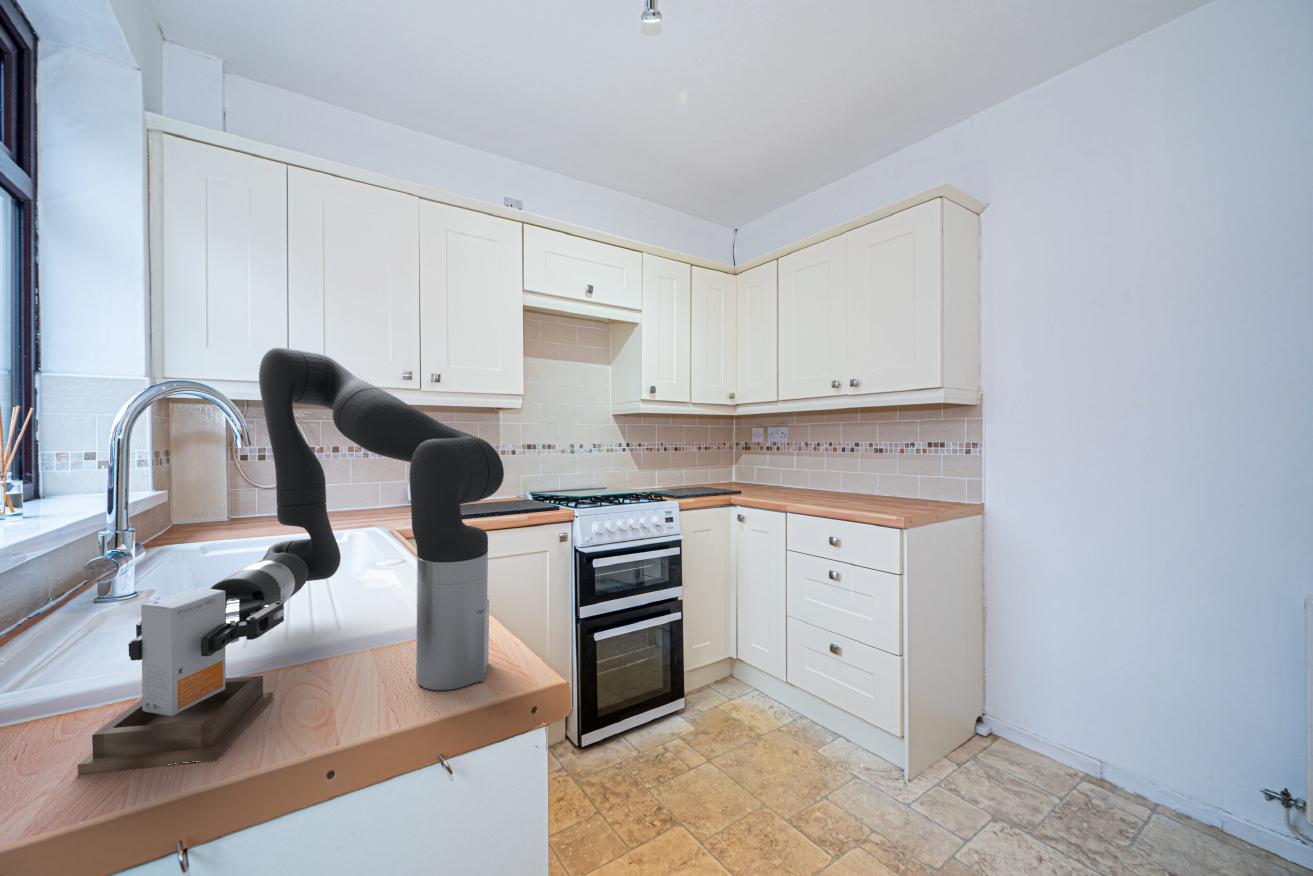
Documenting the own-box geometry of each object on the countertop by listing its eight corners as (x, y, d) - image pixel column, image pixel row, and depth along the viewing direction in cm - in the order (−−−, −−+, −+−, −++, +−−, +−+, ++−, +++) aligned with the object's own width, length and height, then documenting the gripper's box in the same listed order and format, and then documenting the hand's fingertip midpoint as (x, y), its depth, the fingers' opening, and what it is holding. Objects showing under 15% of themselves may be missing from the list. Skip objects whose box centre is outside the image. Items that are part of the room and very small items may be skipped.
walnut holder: (272, 699, 67) (272, 672, 67) (216, 760, 56) (216, 727, 56) (161, 708, 65) (160, 680, 65) (77, 774, 53) (76, 740, 53)
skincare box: (172, 718, 57) (170, 608, 56) (141, 712, 58) (138, 604, 57) (228, 689, 63) (227, 589, 62) (199, 684, 64) (197, 586, 63)
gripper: (191, 570, 72) (88, 619, 56) (309, 566, 75) (245, 612, 59) (192, 624, 72) (90, 689, 56) (310, 618, 76) (246, 678, 59)
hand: (170, 649), depth 57 cm, fingers closed on skincare box, 6 cm apart
